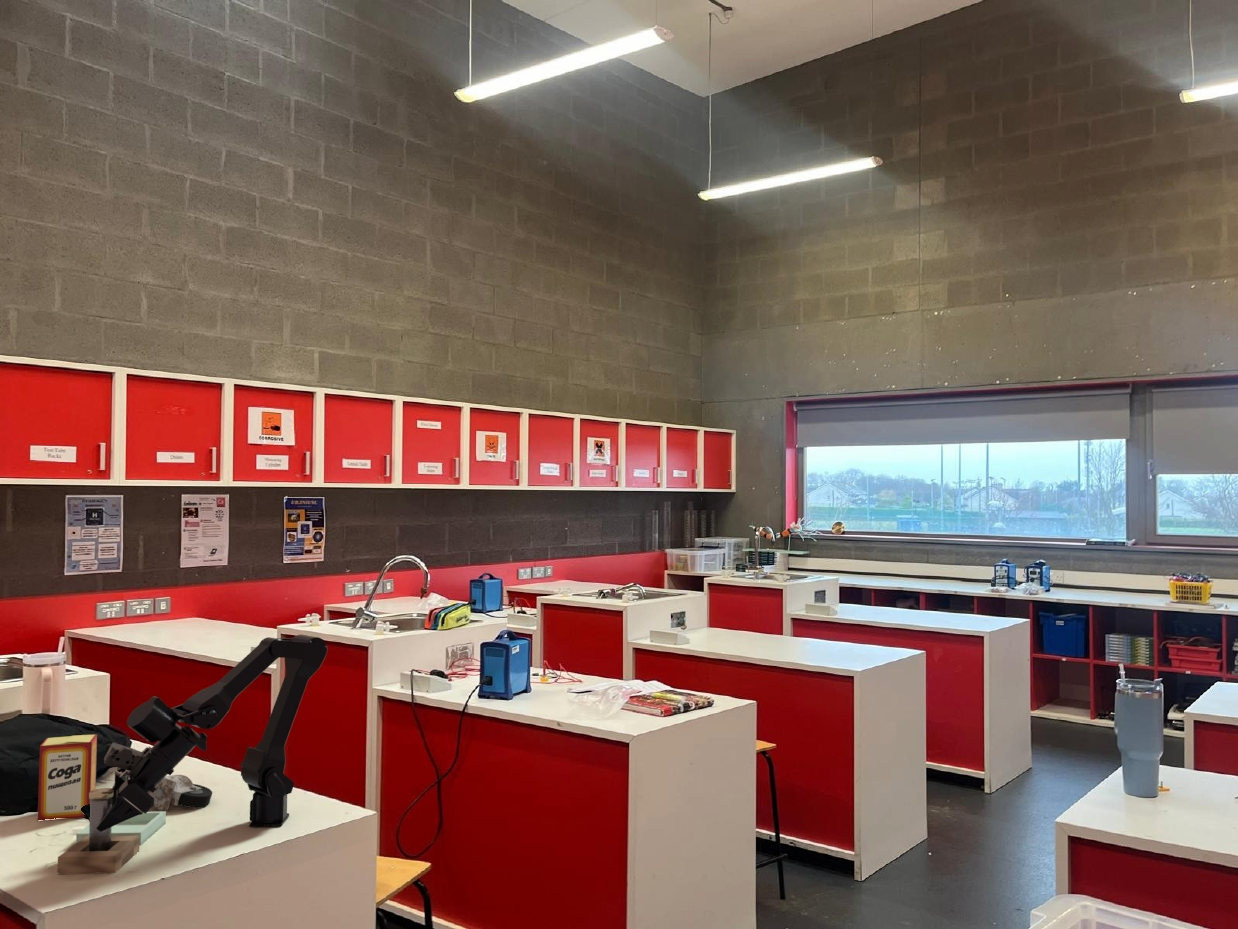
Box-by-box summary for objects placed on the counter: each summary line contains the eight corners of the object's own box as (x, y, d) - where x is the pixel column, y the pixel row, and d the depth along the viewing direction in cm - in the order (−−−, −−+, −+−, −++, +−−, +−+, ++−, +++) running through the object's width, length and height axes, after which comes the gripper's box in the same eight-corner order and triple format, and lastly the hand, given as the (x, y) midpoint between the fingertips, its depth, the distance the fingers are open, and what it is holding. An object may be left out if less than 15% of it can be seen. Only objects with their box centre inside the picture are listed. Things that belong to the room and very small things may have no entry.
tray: (165, 823, 192) (165, 811, 192) (140, 845, 180) (140, 832, 180) (105, 824, 191) (105, 812, 191) (76, 847, 179) (76, 833, 179)
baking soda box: (37, 821, 192) (40, 744, 193) (44, 811, 198) (47, 736, 199) (89, 816, 195) (91, 740, 196) (94, 806, 202) (97, 732, 202)
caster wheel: (214, 813, 205) (181, 821, 196) (175, 797, 209) (141, 804, 200) (223, 783, 206) (190, 790, 197) (184, 767, 210) (150, 773, 200)
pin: (115, 858, 174) (117, 787, 174) (105, 866, 170) (107, 794, 170) (93, 858, 173) (95, 788, 174) (82, 867, 169) (85, 795, 170)
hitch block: (139, 851, 177) (139, 835, 177) (115, 873, 167) (115, 856, 167) (84, 852, 176) (85, 836, 176) (57, 874, 166) (57, 857, 166)
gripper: (131, 717, 183) (64, 781, 177) (135, 739, 167) (62, 811, 161) (174, 752, 186) (109, 816, 181) (182, 777, 170) (112, 849, 164)
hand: (98, 822), depth 171 cm, fingers open, 9 cm apart
